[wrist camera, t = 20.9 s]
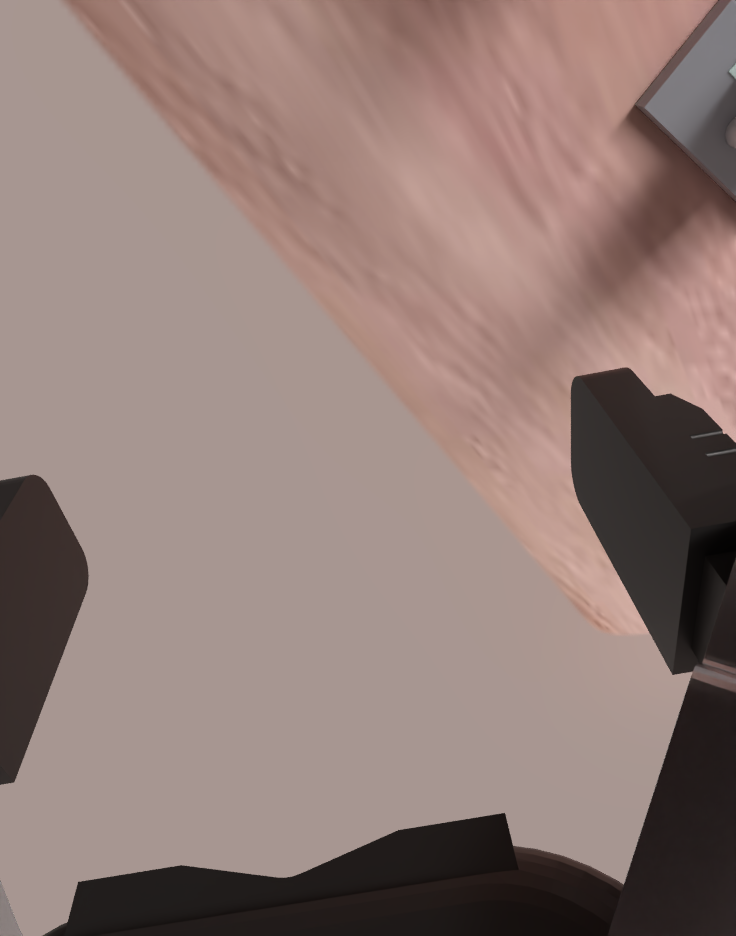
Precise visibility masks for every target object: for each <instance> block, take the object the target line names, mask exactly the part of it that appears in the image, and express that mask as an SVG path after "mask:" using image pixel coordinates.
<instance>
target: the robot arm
mask: <svg viewBox="0 0 736 936" xmlns="http://www.w3.org/2000/svg"><path fill="white" fill-rule="evenodd" d="M571 470H572V478H573V484H574V488H575V492H576V495H577V498H578V501H579V503H580V505H581V507H582V509H583V511H584V513H585V515H586V516H587V518H588V520H589V522H590V524H591V526H592V527H593V529H594V531H595V533H596V535H597V537H598V538H599V540H600V542H601V544H602V546H603V548H604V550H605V551H606V553H607V555H608V557H609V559H610V561H611V562H612V564H613V566H614V568H615V570H616V572H617V573H618V575H619V577H620V579H621V581H622V583H623V584H624V586H625V588H626V590H627V592H628V594H629V596H630V597H631V599H632V601H633V603H634V605H635V607H636V608H637V610H638V612H639V614H640V616H641V618H642V619H643V621H644V623H645V625H646V627H647V629H648V631H649V632H650V634H651V636H652V638H653V640H654V641H655V643H656V645H657V647H658V649H659V651H660V652H661V654H662V656H663V658H664V660H665V662H666V664H667V666H668V667H669V669H670V671H671V672H672V675H674V674H680V673H686V672H692V671H693V673H692V676H691V678H690V681H689V684H688V687H687V690H686V693H685V697H684V700H683V703H682V706H681V709H680V712H679V715H678V718H677V721H676V725H675V728H674V731H673V734H672V737H671V740H670V743H669V746H668V750H667V753H666V755H665V759H664V762H663V765H662V768H661V771H660V774H659V777H658V780H657V784H656V787H655V790H654V793H653V796H652V799H651V802H650V805H649V808H648V811H647V815H646V818H645V821H644V824H643V827H642V830H641V833H640V836H639V839H638V842H637V846H636V849H635V852H634V855H633V858H632V861H631V864H630V867H629V871H628V873H627V877H626V880H625V883H624V885H623V884H622V883H620V882H619V881H617V880H615V879H613V878H611V877H610V876H608V875H606V874H604V873H602V872H600V871H598V870H596V869H594V868H592V867H590V866H588V865H585V864H583V863H580V862H577V861H574V860H572V859H570V858H567V857H564V856H561V855H557V854H553V853H550V852H545V851H541V850H538V849H531V848H524V847H516V846H513V845H512V840H511V836H510V832H509V828H508V824H507V820H506V815H505V813H502V814H496V815H490V816H484V817H478V818H471V819H465V820H459V821H453V822H447V823H441V824H435V825H428V826H422V827H416V828H409V829H403V830H398V831H396V832H393V833H391V834H389V835H387V836H385V837H382V838H380V839H378V840H376V841H373V842H371V843H369V844H367V845H364V846H362V847H360V848H357V849H355V850H353V851H351V852H348V853H346V854H344V855H342V856H339V857H337V858H335V859H333V860H331V861H328V862H326V863H324V864H321V865H319V866H317V867H315V868H312V869H310V870H308V871H306V872H303V873H301V874H299V875H296V876H293V877H287V878H276V877H268V876H260V875H251V874H245V873H237V872H228V871H221V870H213V869H206V868H197V867H190V866H182V865H181V866H175V867H168V868H162V869H156V870H150V871H144V872H137V873H132V874H125V875H119V876H114V877H107V878H101V879H94V880H88V881H82V882H78V885H77V889H76V892H75V896H74V900H73V904H72V908H71V912H70V916H69V919H68V922H67V923H65V924H63V925H61V926H59V927H57V928H55V929H53V930H52V931H50V932H48V933H46V934H45V935H43V936H736V443H735V442H734V441H733V440H732V439H731V438H730V437H729V436H728V435H727V434H723V432H722V429H721V428H720V427H719V425H718V424H717V423H716V422H715V421H714V420H713V419H712V418H711V417H710V416H709V415H708V414H707V413H706V412H705V411H704V410H703V409H702V408H700V407H697V406H695V405H693V404H691V403H689V402H687V401H685V400H683V399H681V398H678V397H676V396H674V395H672V394H666V395H660V396H654V395H653V394H652V393H651V391H650V390H649V389H648V388H647V387H646V386H645V385H644V384H643V382H642V381H641V380H640V379H639V378H638V377H637V376H636V374H635V373H634V372H633V371H632V370H631V369H629V368H620V369H614V370H609V371H603V372H598V373H593V374H587V375H582V376H576V377H575V378H574V379H573V382H572V387H571ZM87 586H88V566H87V561H86V557H85V555H84V552H83V550H82V548H81V546H80V544H79V542H78V540H77V539H76V537H75V535H74V533H73V531H72V529H71V527H70V525H69V524H68V522H67V520H66V518H65V516H64V514H63V512H62V510H61V509H60V507H59V505H58V503H57V501H56V499H55V497H54V495H53V494H52V492H51V490H50V488H49V487H48V485H47V483H46V482H45V481H44V480H43V479H42V478H41V477H39V476H36V475H29V476H24V477H18V478H12V479H7V480H1V481H0V785H1V784H6V783H13V782H14V781H15V779H16V776H17V774H18V771H19V768H20V766H21V763H22V760H23V758H24V755H25V752H26V750H27V747H28V745H29V742H30V739H31V737H32V734H33V731H34V729H35V726H36V723H37V721H38V718H39V715H40V713H41V710H42V707H43V705H44V702H45V700H46V697H47V694H48V692H49V689H50V686H51V684H52V681H53V678H54V676H55V673H56V670H57V668H58V665H59V663H60V660H61V657H62V655H63V652H64V649H65V646H66V644H67V641H68V638H69V636H70V634H71V631H72V628H73V626H74V623H75V620H76V618H77V615H78V612H79V610H80V607H81V604H82V602H83V599H84V597H85V594H86V591H87ZM0 936H23V935H22V933H21V931H20V929H19V927H18V924H17V922H16V919H15V917H14V914H13V912H12V909H11V907H10V904H9V902H8V899H7V896H6V894H5V891H4V889H3V886H2V884H1V881H0Z"/></svg>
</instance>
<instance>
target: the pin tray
mask: <svg viewBox="0 0 736 936" xmlns="http://www.w3.org/2000/svg"><path fill="white" fill-rule="evenodd" d="M635 105H636V106H637V107H638V108H639V109H640V110H641V111H642V112H643V113H644V114H645V115H646V116H647V117H648V118H649V119H650V120H651V121H653V122H654V123H655V124H656V125H657V126H658V127H659V128H660V129H661V130H662V131H663V132H664V133H665V134H666V135H667V136H668V137H669V138H670V139H671V140H672V141H673V142H674V143H675V144H676V145H677V146H678V147H680V148H681V149H682V150H683V151H684V152H685V153H686V154H687V155H688V156H689V157H690V158H691V159H692V160H693V161H694V162H695V163H696V164H697V165H698V166H699V167H700V168H701V169H702V170H703V171H704V172H705V173H706V174H708V175H709V176H710V177H711V178H712V179H713V180H714V181H715V182H716V183H717V184H718V185H719V186H720V187H721V188H722V189H723V190H724V191H725V192H726V193H727V194H728V195H729V196H730V197H731V198H732V199H733V200H735V201H736V0H719V1H718V2H717V3H716V4H715V6H714V7H713V8H712V9H711V11H710V12H709V13H708V14H707V16H706V17H705V18H704V19H703V21H702V22H701V23H700V24H699V26H698V27H697V28H696V29H695V31H694V32H693V33H692V34H691V36H690V37H689V38H688V39H687V41H686V42H685V43H684V44H683V46H682V47H681V48H680V49H679V50H678V52H677V53H676V54H675V55H674V57H673V58H672V59H671V60H670V62H669V63H668V64H667V65H666V67H665V68H664V69H663V70H662V72H661V73H660V74H659V75H658V77H657V78H656V79H655V80H654V82H653V83H652V84H651V85H650V87H649V88H648V89H647V90H646V92H645V93H644V94H643V95H642V96H641V98H640V99H639V100H638V101H637V103H636V104H635Z"/></svg>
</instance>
